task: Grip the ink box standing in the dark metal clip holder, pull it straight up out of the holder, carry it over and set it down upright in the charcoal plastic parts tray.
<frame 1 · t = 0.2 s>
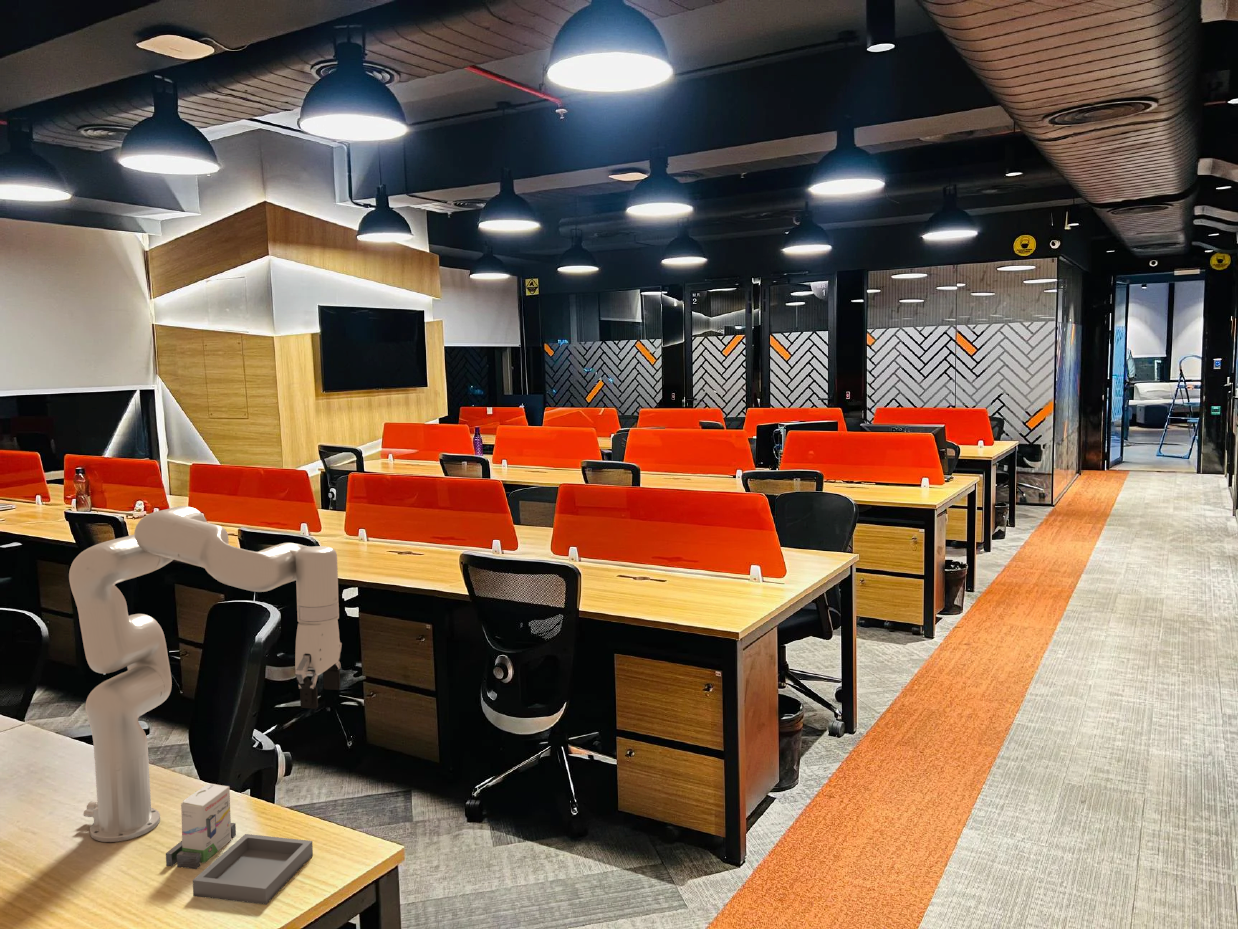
hand: (321, 698, 173), 31 cm above the table, tool pointing down, fingers open, 9 cm apart
ink box: (207, 851, 175), on the table
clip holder: (207, 850, 175), on the table
parts tray: (255, 875, 167), on the table
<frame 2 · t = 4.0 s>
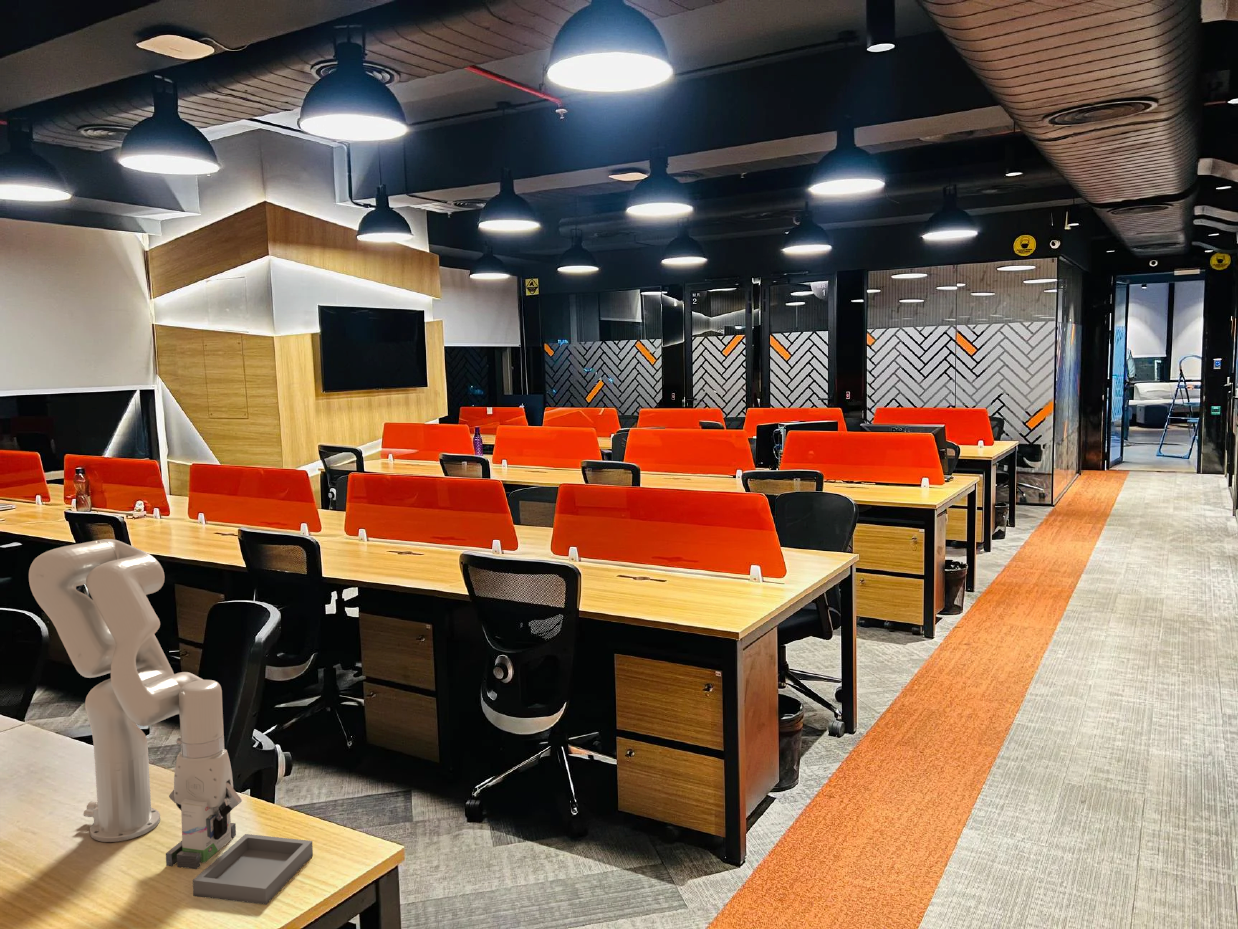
hand: (206, 833, 175), 3 cm above the table, tool pointing down, fingers closed on ink box, 5 cm apart
ink box: (207, 851, 175), on the table, touching gripper
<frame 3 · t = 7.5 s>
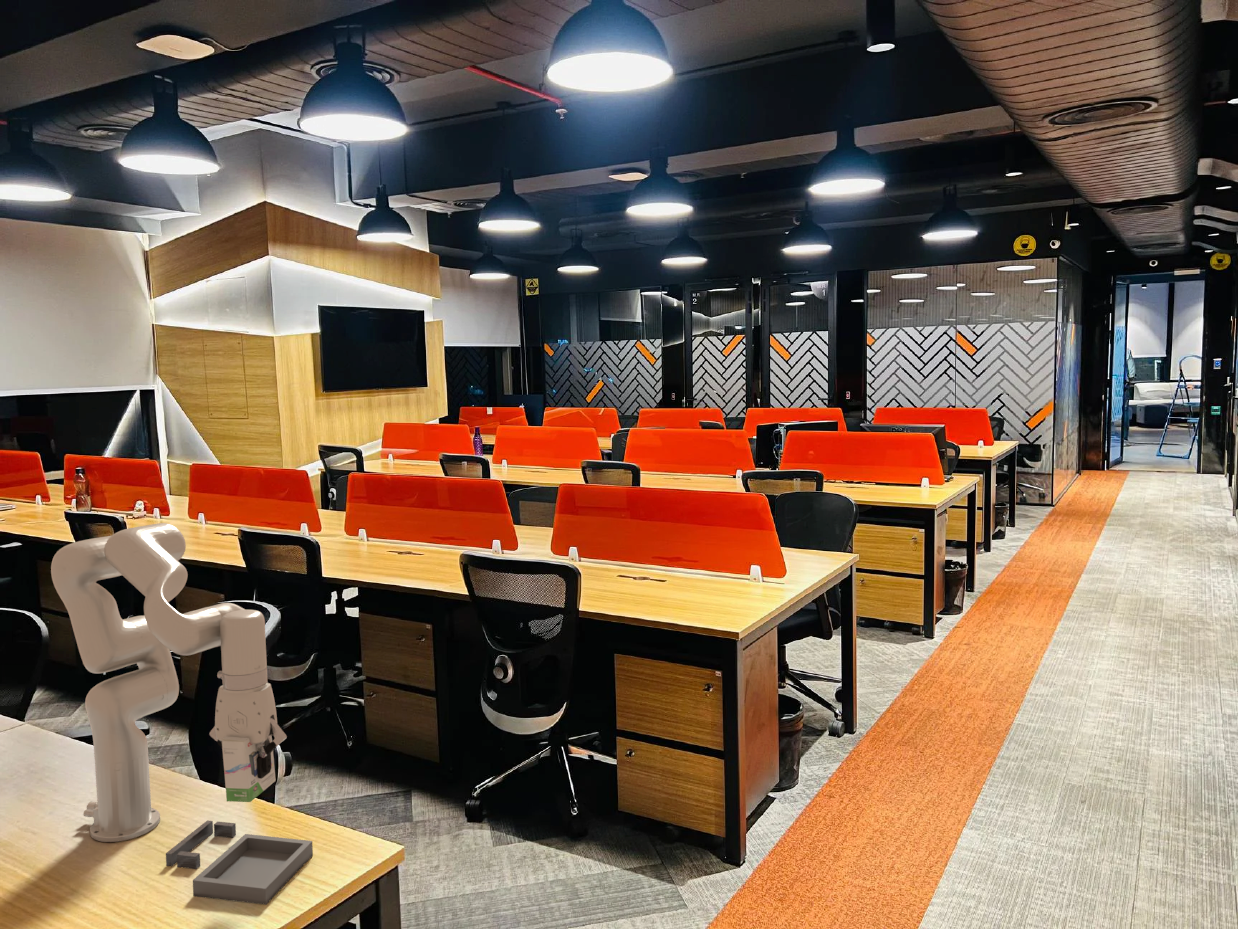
hand: (249, 773, 165), 20 cm above the table, tool pointing down, fingers closed on ink box, 5 cm apart
ink box: (252, 793, 165), point 16 cm above the table, touching gripper
when the fingers open (5 cm above the table, at t = 11.1 s): ink box drops 1 cm, resting on parts tray.
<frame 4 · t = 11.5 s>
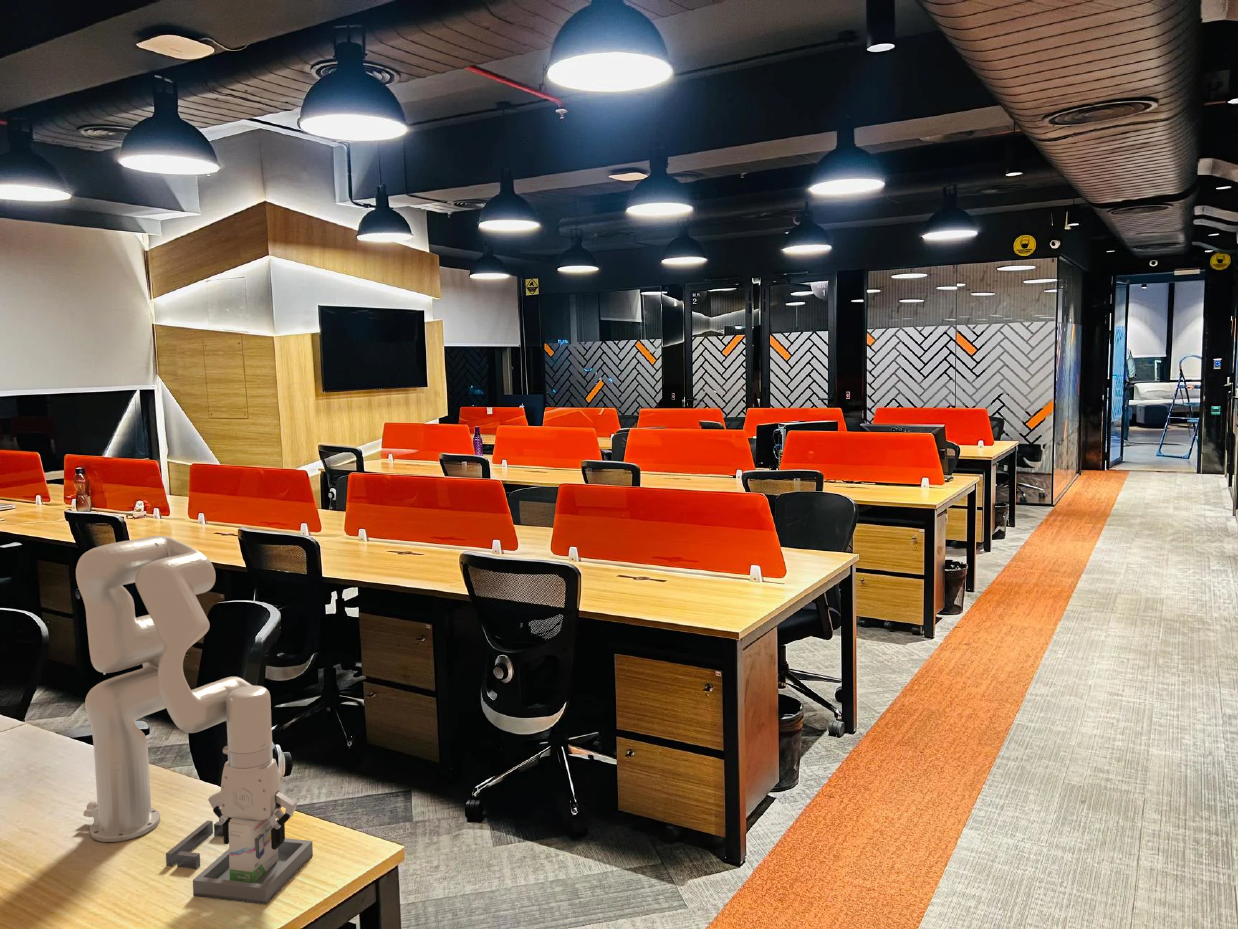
hand: (254, 843, 166), 6 cm above the table, tool pointing down, fingers open, 9 cm apart
ink box: (254, 872, 167), resting on parts tray
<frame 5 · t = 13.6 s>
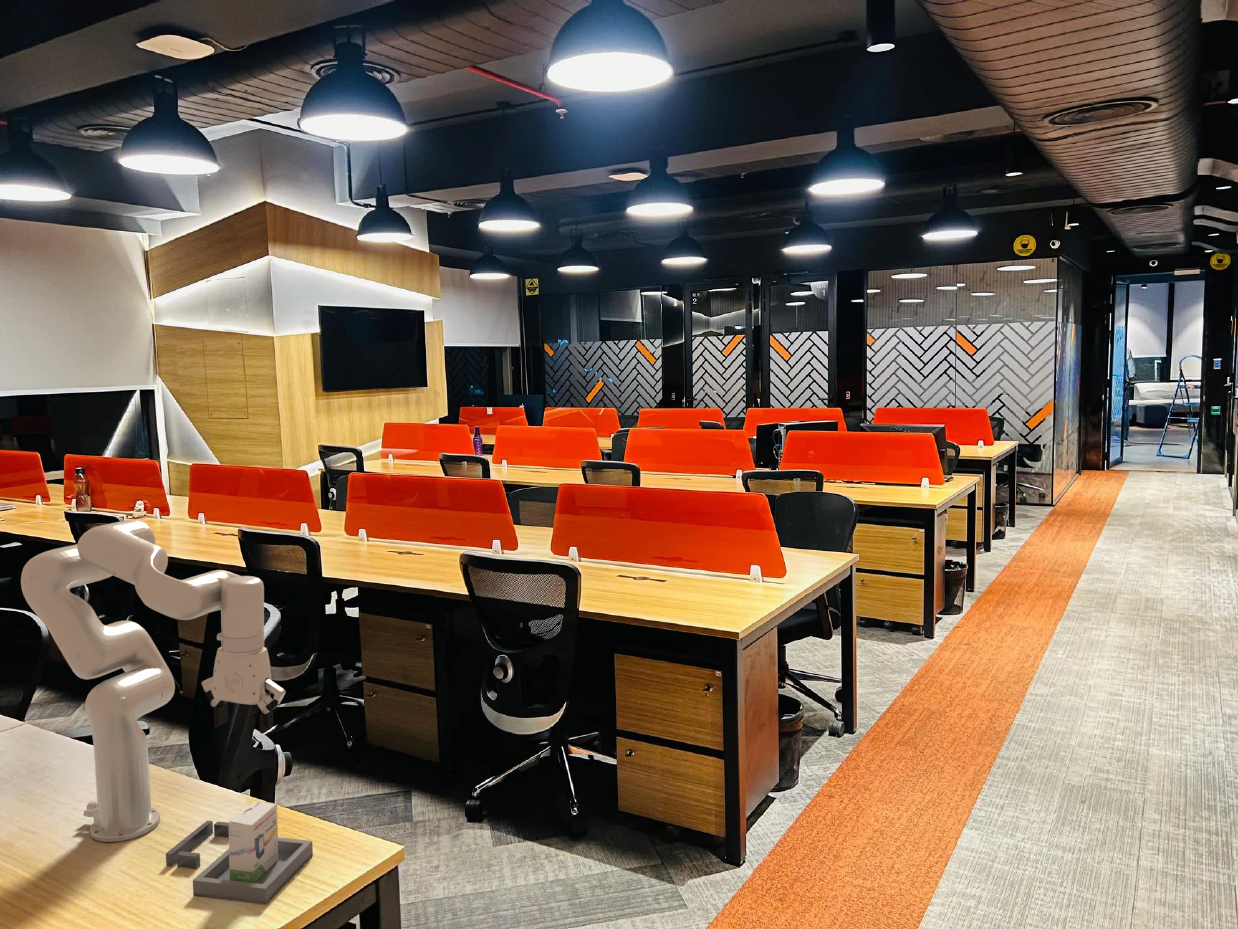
hand: (243, 727, 173), 25 cm above the table, tool pointing down, fingers open, 9 cm apart
nothing on the table moved.
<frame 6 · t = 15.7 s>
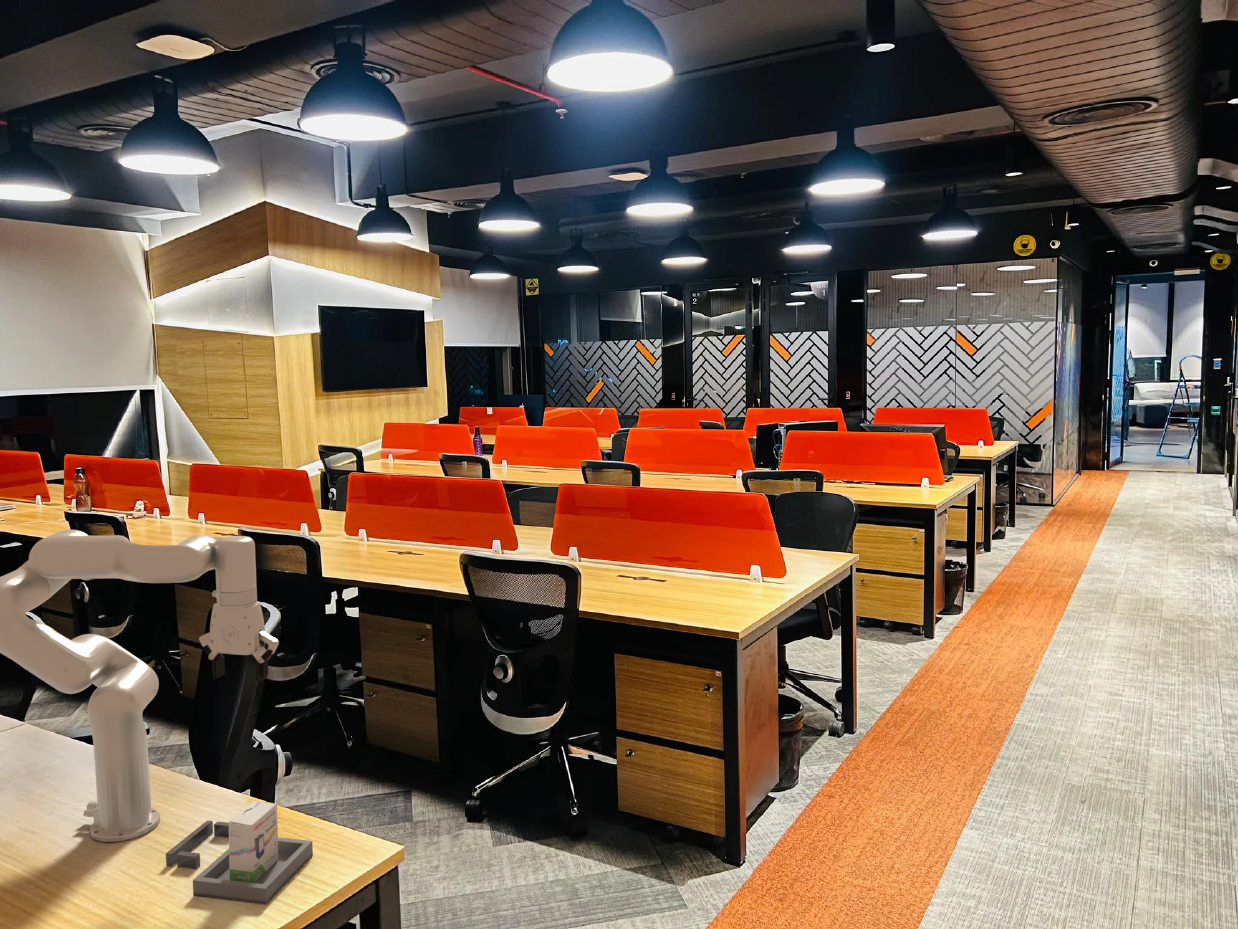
hand: (240, 678, 185), 30 cm above the table, tool pointing down, fingers open, 9 cm apart
nothing on the table moved.
at the end: ink box inside the target area on the parts tray (0.2 cm from its centre), point 0.4 cm above the parts tray's base; ink box tilted 0°; the gripper is holding nothing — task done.
